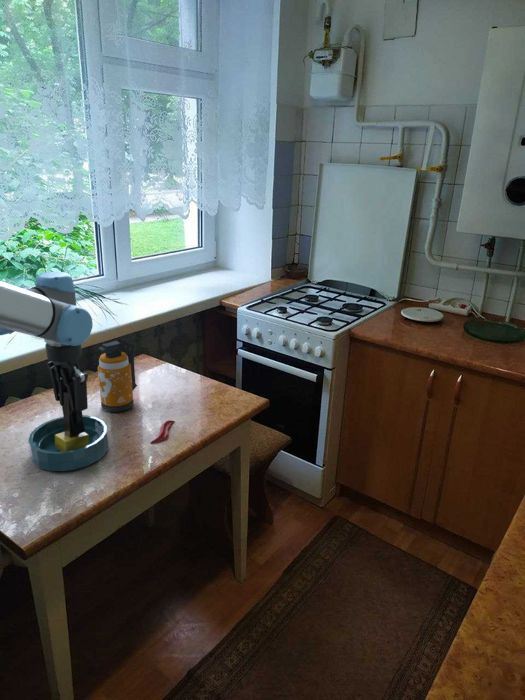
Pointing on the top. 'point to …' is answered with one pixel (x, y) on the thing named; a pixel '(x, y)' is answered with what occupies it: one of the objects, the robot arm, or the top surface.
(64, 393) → the scrub brush
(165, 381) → the top surface
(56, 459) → the basin
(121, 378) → the canister
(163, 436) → the cayenne pepper
